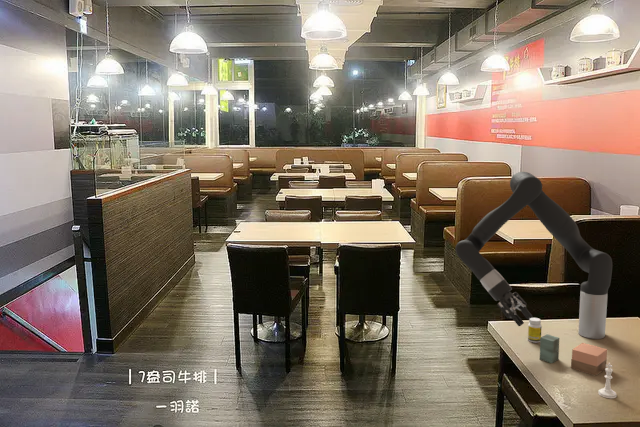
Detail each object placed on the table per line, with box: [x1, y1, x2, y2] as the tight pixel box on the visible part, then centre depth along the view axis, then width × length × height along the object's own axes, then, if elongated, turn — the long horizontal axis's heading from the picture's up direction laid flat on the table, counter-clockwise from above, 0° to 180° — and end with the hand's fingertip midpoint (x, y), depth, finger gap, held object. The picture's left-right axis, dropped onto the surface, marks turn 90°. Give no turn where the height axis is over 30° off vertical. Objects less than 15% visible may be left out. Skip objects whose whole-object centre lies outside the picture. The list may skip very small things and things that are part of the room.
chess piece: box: [597, 362, 617, 399], centre depth 164 cm, size 5×5×10 cm
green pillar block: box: [539, 334, 560, 364], centre depth 189 cm, size 4×4×8 cm
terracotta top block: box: [571, 342, 608, 367], centre depth 181 cm, size 8×8×4 cm
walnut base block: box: [570, 358, 608, 377], centre depth 182 cm, size 8×8×4 cm
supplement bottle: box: [527, 317, 543, 344], centre depth 205 cm, size 5×5×8 cm
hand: (526, 321), depth 193 cm, fingers open, 8 cm apart
